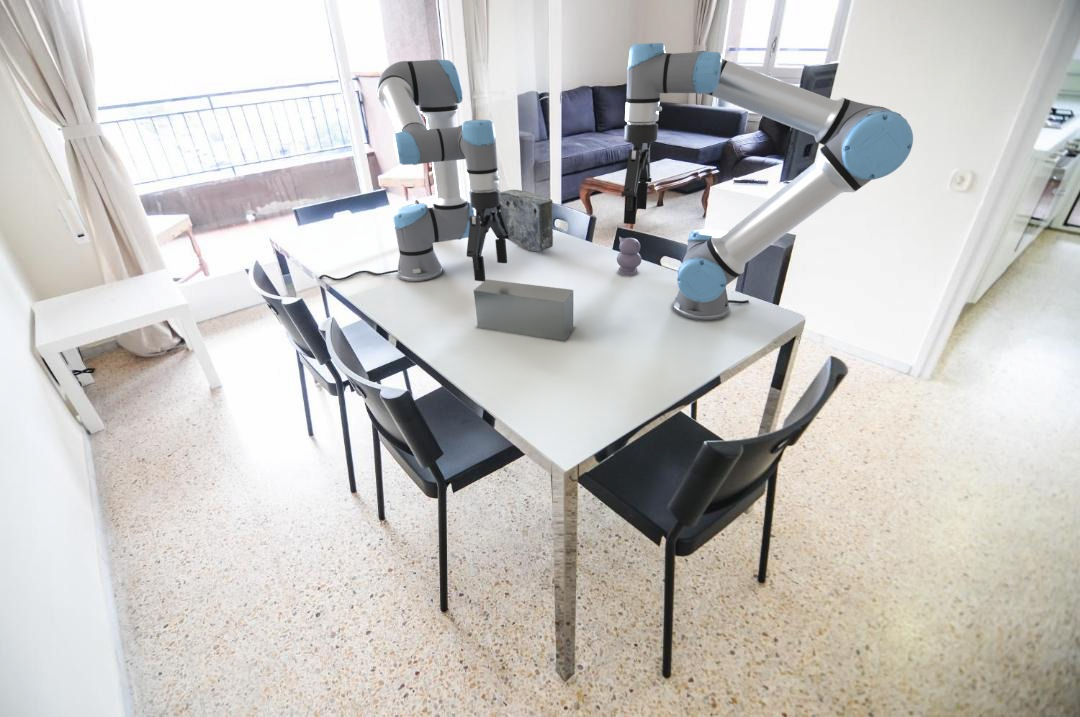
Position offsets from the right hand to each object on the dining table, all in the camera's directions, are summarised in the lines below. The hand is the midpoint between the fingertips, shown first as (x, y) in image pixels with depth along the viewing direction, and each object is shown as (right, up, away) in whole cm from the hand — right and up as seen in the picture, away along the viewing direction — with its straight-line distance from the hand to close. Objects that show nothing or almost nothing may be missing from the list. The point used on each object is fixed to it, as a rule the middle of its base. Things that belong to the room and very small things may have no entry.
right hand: (635, 215), depth 125 cm
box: (-28, -27, +14) cm, 42 cm away
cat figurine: (+6, -6, +46) cm, 47 cm away
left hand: (-37, -12, +8) cm, 40 cm away
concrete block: (-28, +8, +71) cm, 77 cm away
